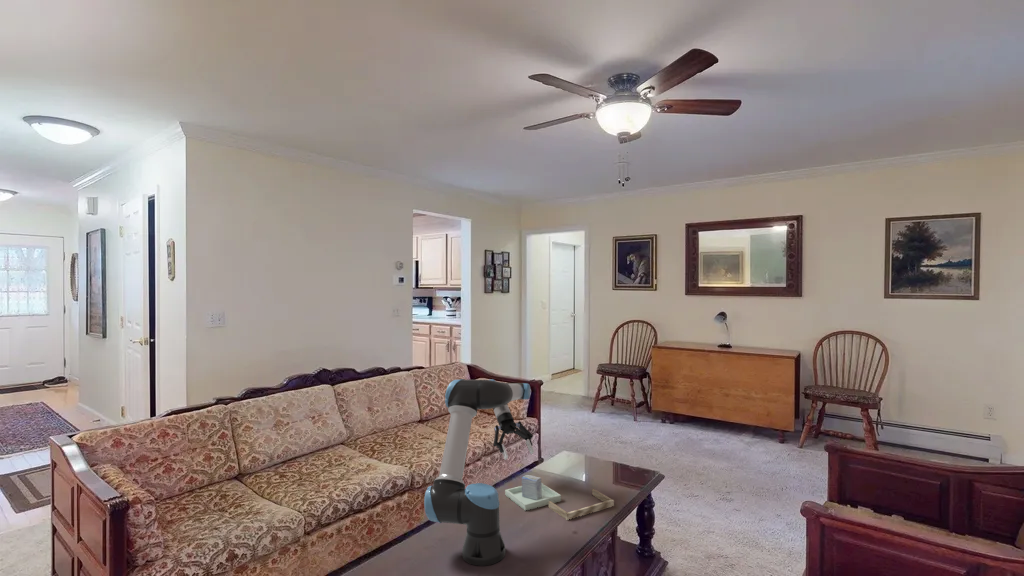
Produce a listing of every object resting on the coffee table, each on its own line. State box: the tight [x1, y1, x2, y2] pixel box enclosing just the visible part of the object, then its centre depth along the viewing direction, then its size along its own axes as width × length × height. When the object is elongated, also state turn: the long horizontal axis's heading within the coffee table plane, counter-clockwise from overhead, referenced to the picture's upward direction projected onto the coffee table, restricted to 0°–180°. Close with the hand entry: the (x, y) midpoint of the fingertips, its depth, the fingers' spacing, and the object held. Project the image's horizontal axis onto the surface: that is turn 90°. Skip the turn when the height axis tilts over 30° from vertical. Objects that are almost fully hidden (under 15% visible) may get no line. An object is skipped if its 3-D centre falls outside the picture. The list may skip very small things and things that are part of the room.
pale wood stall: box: [548, 488, 615, 521], centre depth 209 cm, size 24×14×2 cm, turn 119°
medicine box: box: [521, 474, 542, 500], centre depth 219 cm, size 8×4×9 cm, turn 54°
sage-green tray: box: [504, 482, 562, 512], centre depth 219 cm, size 18×18×2 cm
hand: (519, 455), depth 228 cm, fingers open, 13 cm apart
